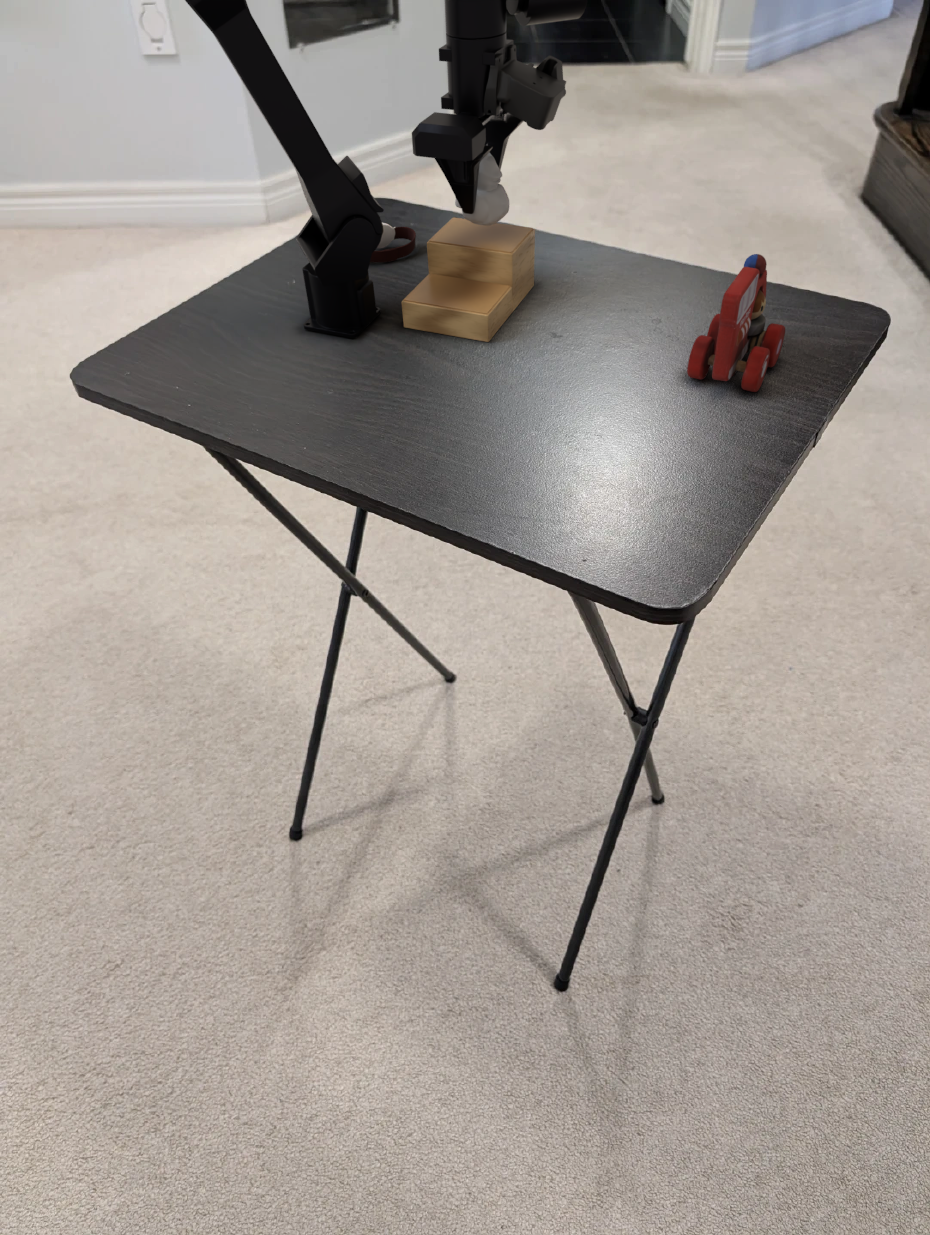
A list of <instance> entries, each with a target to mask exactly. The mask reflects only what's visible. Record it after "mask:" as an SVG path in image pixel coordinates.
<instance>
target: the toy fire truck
mask: <svg viewBox="0 0 930 1235" xmlns="http://www.w3.org/2000/svg"><path fill="white" fill-rule="evenodd" d="M767 281H768V270H767V260H766V258H765V256H764V255H762V254H760V253H754V254H751V255H749V256H748V257H747V258H746V259H745V261H744V263H743V267H742V268H741V269H740V271H739V272H738V273H737V275H736V276H735V278H734V280H733V281H732V282H731V284H730V285H729V286H728V288H727V289H726V290H725V291H724V293H723V296H722V300H721V305H720V313H716V314H715V315H714V316H713V318H712V320H711V321H710V323H709V327H708V330H707V334H706V335H704V334H700V335H698V336H697V337H696V338H695V339H694V342H693V344H692V347H691V349H690V353H689V357H688V361H687V362H688V363H687V368H686V370H687V371H686V373H687V376H688V377H689V378H691V379H695V380H700V381H701V380H704V379H705V378H706V377H707V375H708V373H709V371H710V368H711V367H712V372H711V377H712V380H715V381H721V382H728V381H730V379H731V378H732V377H734V376H735V375H736V373H737V372H741V373H743V374H742V377H741V385H740V387H741V389H742V390H743V391H748V392H751V393H752V392H753V393H757V392H758V391H759V390H760V388H761V387H762V384H763V381H764V380H765V376H766V373H767V370H768V368H773V367H774V366H775V365H776V364H777V361H778V359H779V357H780V355H781V352H782V348H783V345H784V341H785V335H786V326H785V325H783V324H779V323H772V322H771V323H770V324H768V325H767V327H766V322H767V320H766V319H767V318H766V316H765V315H764V311H765V309H766V304H767V300H766V298H767V297H766V296H767ZM765 327H766V329H765ZM747 353H749V354H748V356H747V360H746V361H745V360H743V358H744V357H745V355H746V354H747Z"/></svg>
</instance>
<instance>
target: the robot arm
mask: <svg viewBox="0 0 930 1235" xmlns="http://www.w3.org/2000/svg"><path fill="white" fill-rule="evenodd" d="M184 1H185V3H187V5H188V6H189V7H190V8H191V9H192V11H193V12H194V13H195V14H196V15H197V17H198V18H199V19H200V20H201V21H202V22H203V24H204V25H205V26H206V27H207V28H208V30H209V31H210V32H211V33H212V35H213V36H214V38H215V39H216V41H217V43H218V45H219V47H220V48H221V49H222V51H223V53H224V54H225V56H226V57H227V59H228V61H229V63H230V64H231V66H232V67H233V69H234V70H235V72H236V74H237V75H238V77H239V79H240V80H241V82H242V84H243V85H244V87H245V89H246V91H247V92H248V94H249V95H250V97H251V99H252V100H253V102H254V104H255V105H256V107H257V109H258V111H259V112H260V114H261V115H262V117H263V118H264V120H265V121H266V123H267V125H268V126H269V128H270V130H271V131H272V133H273V135H274V136H275V138H276V140H277V142H278V143H279V145H280V146H281V148H282V150H283V151H284V153H285V155H286V156H287V158H288V160H289V161H290V163H291V165H292V166H293V168H294V169H295V172H296V175H297V177H298V180H299V183H300V187H301V190H302V193H303V195H304V198H305V201H306V203H307V206H308V208H309V209H310V213H311V216H310V217H309V218H308V220H307V221H306V223H305V224H304V225H303V227H302V229H301V230H300V231H299V233H298V234H297V236H296V238H295V240H296V242H297V244H298V246H299V247H300V250H301V251H302V253H303V254H304V256H305V257H306V259H307V260H308V262H307V264H306V265H304V266H303V267H302V268H301V270H302V276H303V281H304V288H305V293H306V299H307V300H306V301H307V304H308V305H307V306H308V310H309V311H308V312H309V316H310V317H309V318H308V319H307V320H306V321H305V322H304V323H303V324H302V325H303V329H304V330H305V331H312V332H317V333H323V334H329V335H333V336H338V337H344V338H350V339H354V338H356V337H358V336H359V335H360V334H361V333H362V332H363V331H364V330H365V329H366V328H367V327H368V326H369V325H371V323H372V322H374V321H375V319H376V318H377V317H378V316H380V314H381V308H380V307H378V306H377V305H376V304H377V302H376V296H375V295H376V294H375V287H374V281H373V279H371V278H370V275H369V268H370V264H371V262H370V260H371V255H372V253H373V252H374V251H377V249H378V248H377V247H378V245H379V243H380V241H381V237H382V234H383V224H382V222H383V221H382V219H381V216H380V215H379V213H384V210H385V209H384V208H383V207H382V206H381V204H380V203H379V201H377V199H376V198H375V197H374V196H373V195H372V193H371V190H370V187H369V183H368V182H367V181H368V180H367V179H366V176H365V175H364V173H363V172H362V171H361V170H360V168H359V167H358V166H357V165H356V163H355V162H354V161H353V160H352V159H351V158H350V157H349V155H345V156H344V157H343V158H342V159H341V160H340V162H338V163H337V162H336V160H335V159H334V158H333V156H332V154H331V153H330V150H329V149H328V147H327V145H326V143H325V142H324V140H323V138H322V136H321V135H320V134H319V131H318V130H317V128H316V126H315V125H314V123H313V121H312V119H311V117H310V115H309V113H308V112H307V110H306V108H305V106H304V105H303V103H302V101H301V100H300V98H299V96H298V94H297V93H296V90H295V89H294V88H293V86H292V84H291V82H290V80H289V78H288V77H287V75H286V73H285V71H284V70H283V68H282V66H281V64H280V62H279V61H278V59H277V57H276V55H275V54H274V52H273V51H272V49H271V47H270V45H269V43H268V41H267V40H266V38H265V35H264V34H263V32H262V31H261V29H260V27H259V26H258V24H257V22H256V20H255V18H254V17H253V15H252V13H251V10H250V8H249V5H248V2H247V0H184ZM587 4H588V0H444V17H445V19H444V20H445V21H444V22H445V43H446V44H444V45H442V46H440V47H439V48H438V61H439V62H446V69H447V71H446V72H447V92H446V93H445V94H443V95H442V96H441V97H440V107H441V108H440V109H441V110H450V111H453V113H446V112H437V111H433V113H431V114H430V115H428V116H426V118H425V119H423V120H422V121H420V122H419V123H418V124H417V126H415V128H414V129H413V130H412V131H411V142H412V154H413V155H414V156H415V157H421V158H430V159H434V160H435V162H436V163H437V165H438V166H439V169H440V170H441V172H442V174H443V175H444V177H445V179H446V181H447V183H448V185H449V187H450V188H451V190H452V192H453V195H454V196H455V200H456V199H457V200H458V202H459V204H460V206H461V208H460V209H461V211H462V210H463V212H464V213H466V214H473V213H474V211H475V204H476V196H477V186H478V176H479V165H480V162H481V160H482V159H483V158H484V157H485V156H486V155H487V154H488V153H489V152H490V154H491V155H492V156H493V157H494V159H495V161H496V164H497V165H498V167H499V169H500V171H501V170H502V165H503V161H504V157H505V153H506V149H507V145H508V142H509V139H510V136H511V135H512V134H513V133H514V132H515V131H516V130H517V129H518V127H520V126H521V125H522V124H523V123H525V124H526V126H528V127H529V128H530V129H533V130H537V131H543V130H544V129H546V127H547V125H548V124H550V122H553V121H555V117H556V114H557V112H558V109H559V106H560V104H561V101H562V99H563V98H564V97H565V96H566V95H567V90H566V84H567V80H565V79H564V71H563V68H564V67H563V61H562V60H560V59H558V58H556V57H555V56H553V55H548V56H547V57H545V58H544V59H543V60H542V61H541V62H539V64H538V65H537V66H536V67H534V66H535V64H534V63H532V62H529V63H528V64H526V63H524V62H521V61H519V60H517V59H518V58H517V45H516V44H514V40H513V39H507V12H508V13H509V15H513V16H514V17H515V19H516V21H517V23H518V24H519V25H520V26H522V27H526V26H534V25H543V24H550V23H556V22H563V21H571V20H579V19H581V17H582V16H583V14H584V13H585V9H586V8H587ZM486 145H488V146H486Z"/></svg>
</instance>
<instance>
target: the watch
mask: <svg viewBox="0 0 930 1235" xmlns="http://www.w3.org/2000/svg"><path fill="white" fill-rule="evenodd" d="M382 224H383V234H382V237H381V241H380V243H379V245H378V247H377V248H376V249H383V250H375V251H374V252H373V253H372V255H371V260H370V263H389V262H395V261H396V260H399V259H402V258H405V257H407V256H409V255H410V254H412V253H413V251H414V250H415V248H416V237H417V232H416V231H415V230H414V229H413V228H411V227H409V226H394V227H393V226H391V225H390V224H388V223H386V222H383V221H382ZM399 239H404V240H408V241H409V242H408V243H406V244H404V245H400V246H397V247H393V248H386V247H388V246H389V245H390V244H391V243H392V242H393V240H399ZM384 248H385V249H384Z"/></svg>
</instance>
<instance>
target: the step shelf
mask: <svg viewBox="0 0 930 1235" xmlns="http://www.w3.org/2000/svg"><path fill="white" fill-rule="evenodd" d="M535 248H536V229H535V228H534V227H529V226H521V225H514V224H506V223H499V222H497V223H495V224H493V225H489V226H484V225H478V224H474V223H472V222H471V221H469V220H466V219H465V218H461V217H452V218H451V219H449V221H448V222H446V223H445V224H444V225H443V226H442V227H441V228H440V229H439V230H437V232H436V233H434V235H432V236H431V238H430V239H428V241H427V242H426V250H427V254H426V255H427V267H428V274H427V275H426V276H425V277H424V278H423V279H422V280H421V281H420V282H419V283H418V284H417V285H416V286H415V287H414V288H413V289H412V290H411V291H410V292H409V293H408V294H407V295H406V296H405V297H404V298H403V299H402V300H401V311H402V312H401V313H402V321H403V328H406V329H411V330H418V331H422V332H423V331H424V332H429V333H434V334H440V335H445V336H451V337H456V338H461V339H467V340H468V339H469V340H474V341H479V342H484V343H485V342H486V343H489V342H490V341H491V340H492V338H494V336H495V335H496V333H497V332H498V331H499V330H500V329H501V327H502V326H503V325H504V323H505V322H506V321H507V320H508V319H509V317H510V316H511V315H512V313H513V312H514V311H515V310H516V308H517V307H519V305H520V304H521V302H522V301H523V300H524V299H525V297H526V296H527V295H528V294H529V293H530V291H531V290H532V289H533V287H534V286H535V256H536V255H535V252H536V249H535Z"/></svg>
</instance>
